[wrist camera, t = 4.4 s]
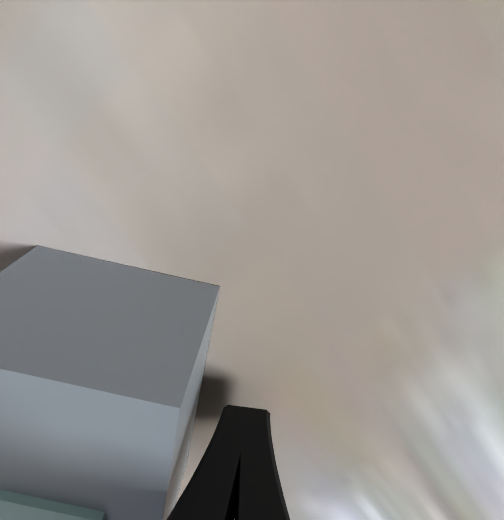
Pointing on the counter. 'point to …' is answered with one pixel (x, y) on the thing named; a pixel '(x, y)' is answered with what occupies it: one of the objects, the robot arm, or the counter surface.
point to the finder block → (97, 386)
